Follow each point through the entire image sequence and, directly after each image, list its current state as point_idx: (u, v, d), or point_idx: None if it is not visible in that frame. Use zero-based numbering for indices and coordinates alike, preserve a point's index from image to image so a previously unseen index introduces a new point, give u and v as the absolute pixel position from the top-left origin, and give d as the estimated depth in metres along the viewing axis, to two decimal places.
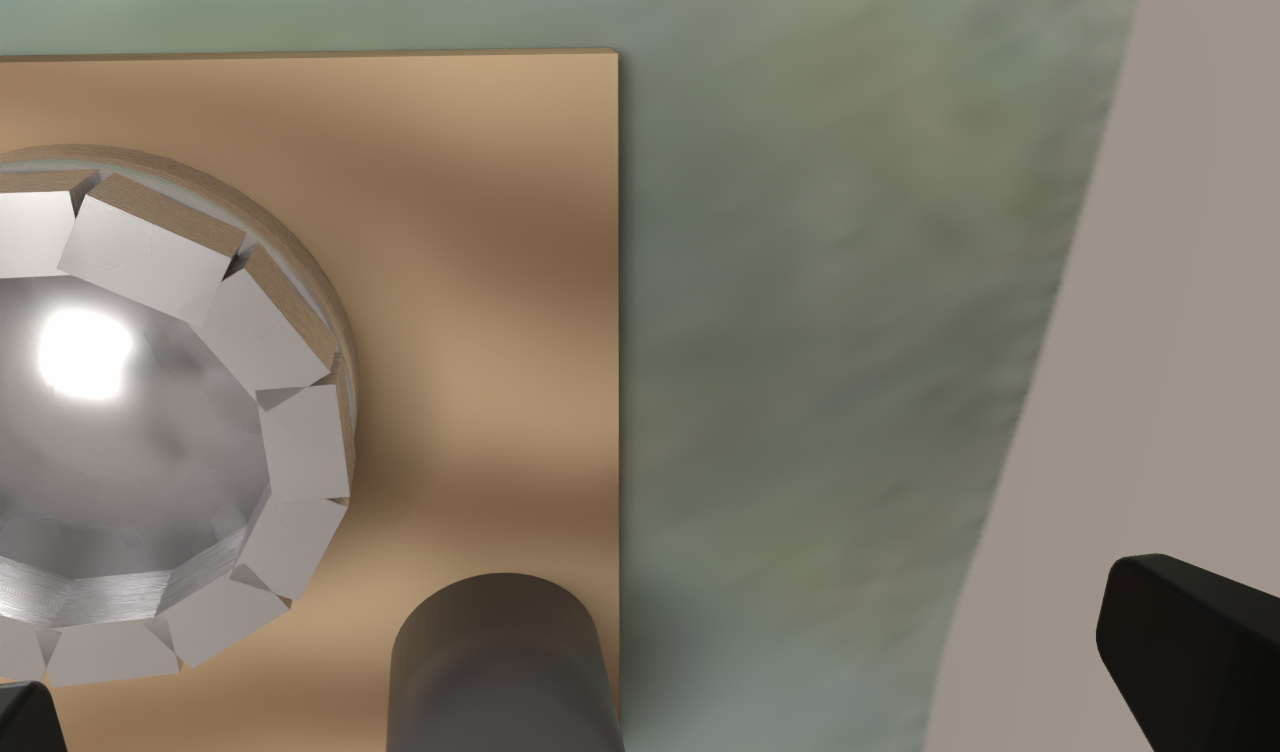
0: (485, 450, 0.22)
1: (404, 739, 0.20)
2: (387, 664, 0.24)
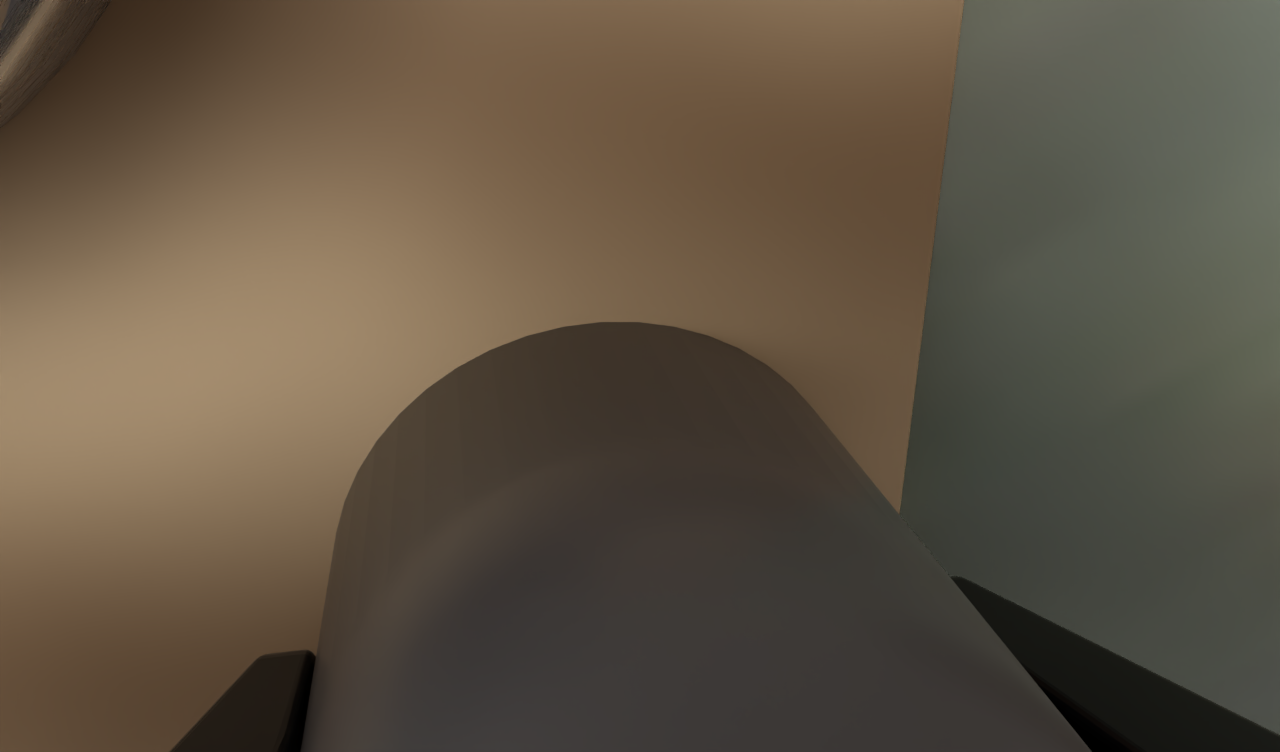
0: None
1: None
2: (323, 573, 0.09)
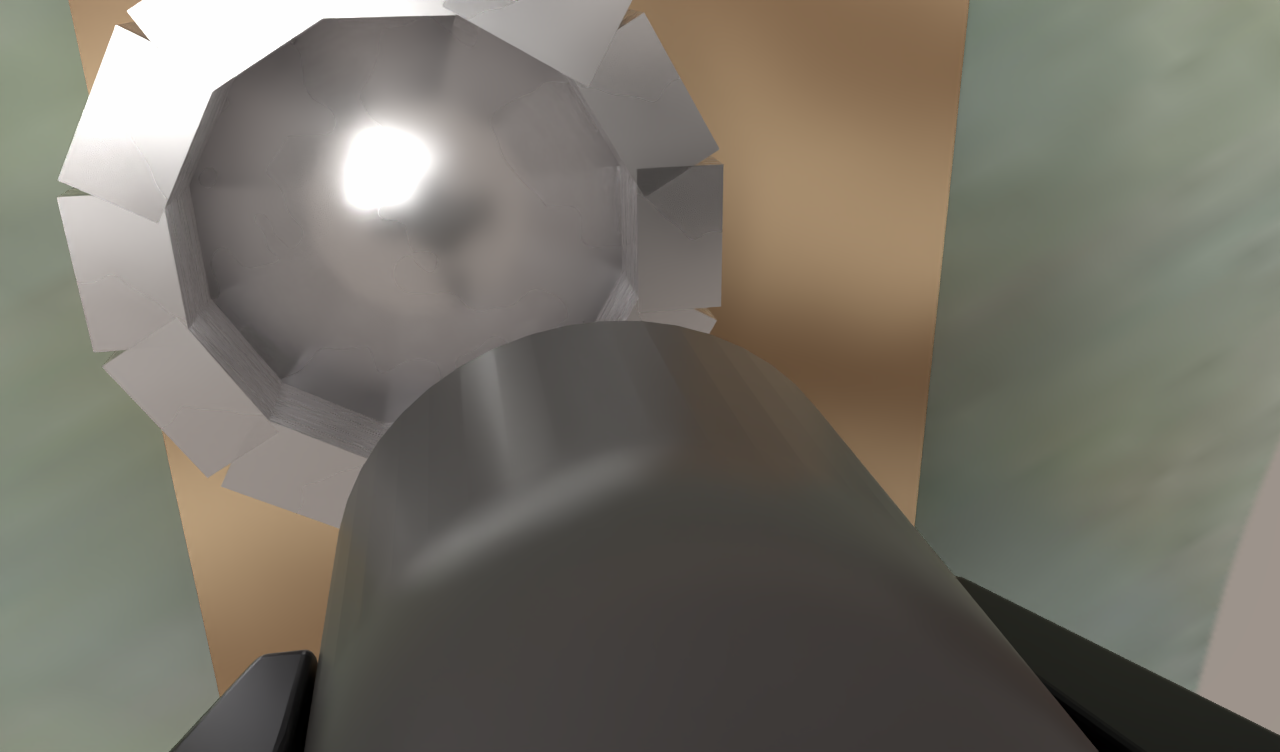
0: (797, 299, 0.20)
1: None
2: None
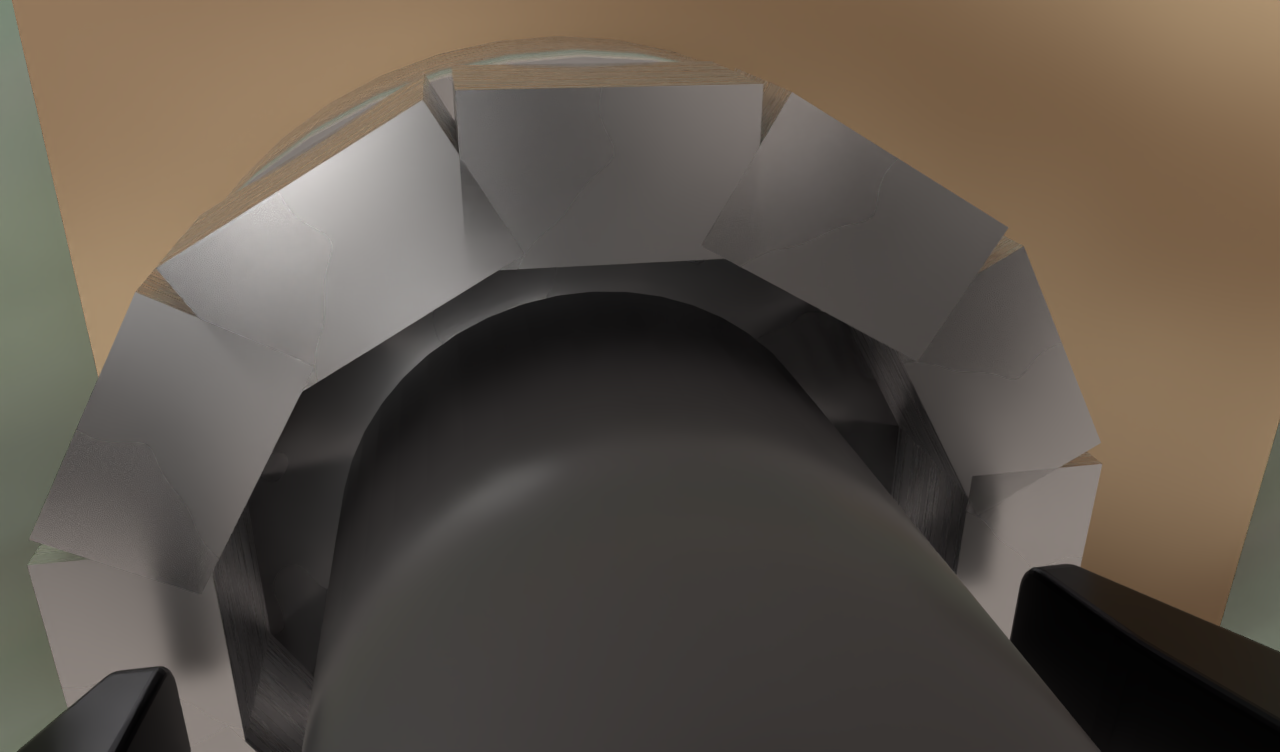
0: None
1: (352, 687, 0.06)
2: None
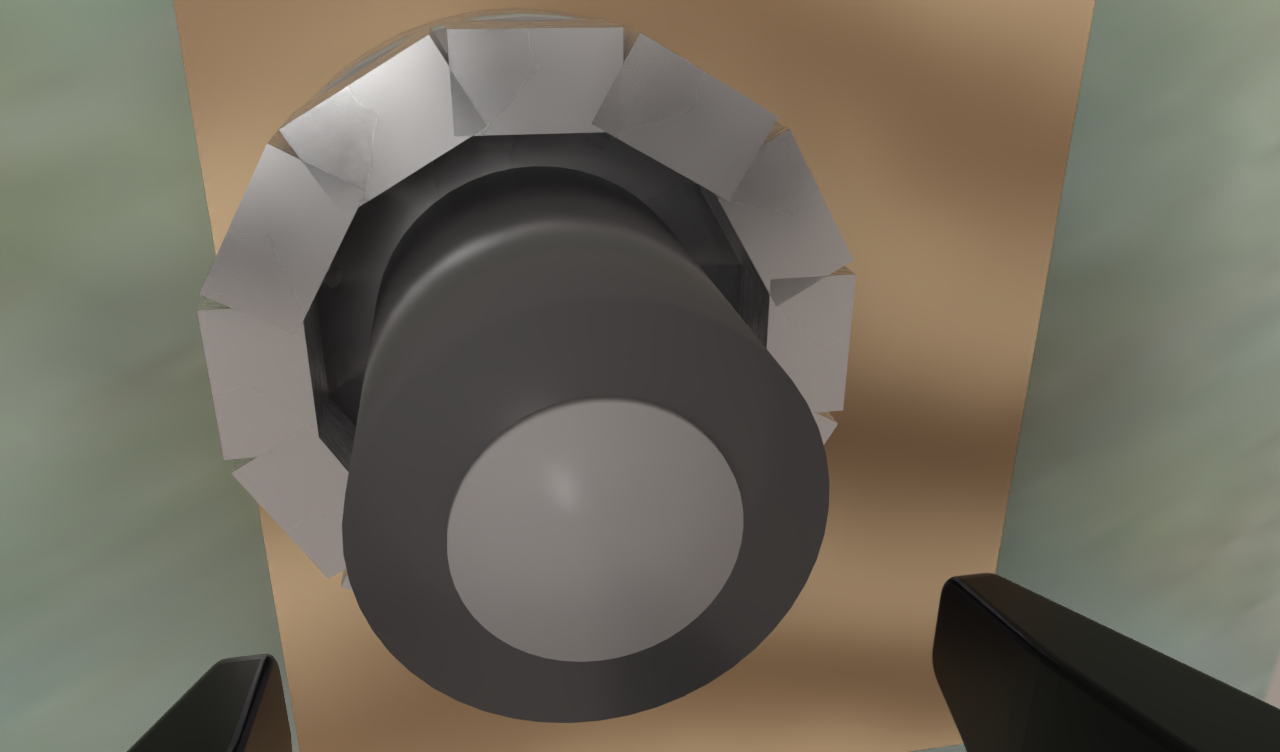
0: (892, 380, 0.20)
1: (393, 329, 0.11)
2: None
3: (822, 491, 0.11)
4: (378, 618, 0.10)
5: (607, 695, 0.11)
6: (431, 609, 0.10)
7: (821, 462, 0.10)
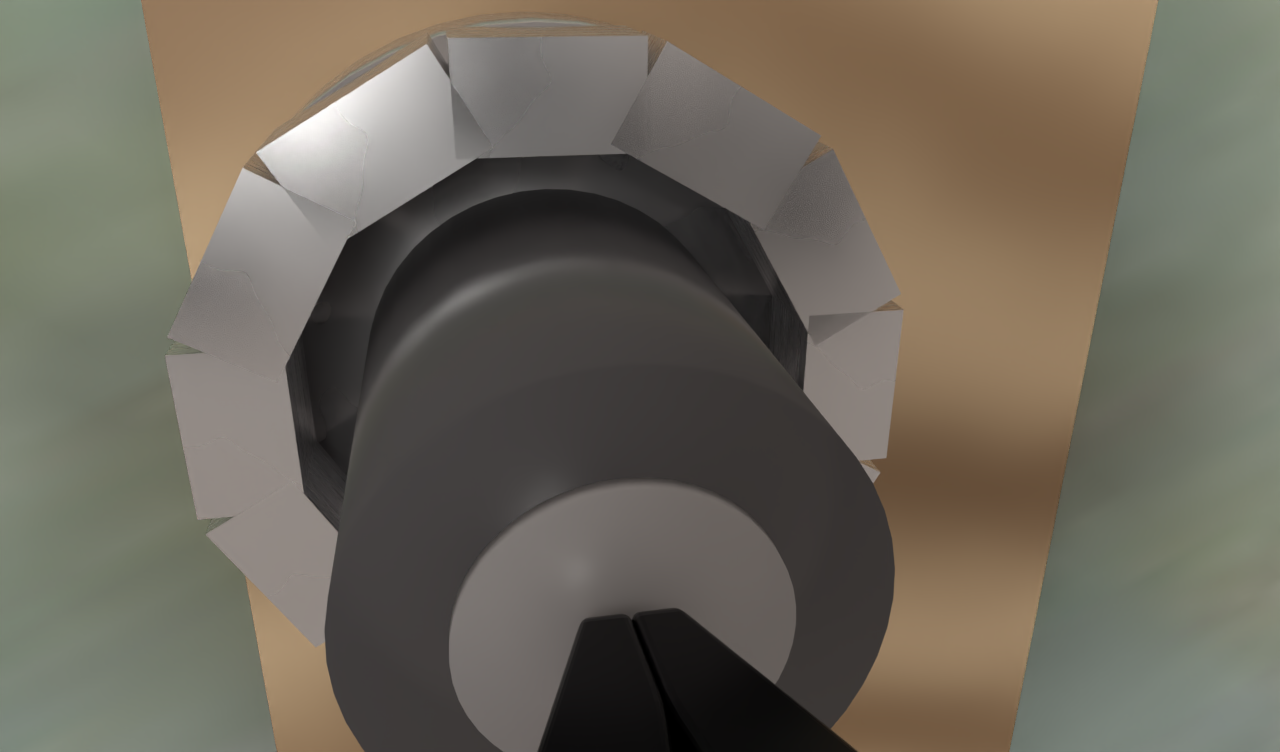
0: (929, 414, 0.18)
1: (386, 386, 0.10)
2: None
3: (886, 580, 0.09)
4: (369, 733, 0.09)
5: None
6: (430, 721, 0.09)
7: (886, 548, 0.09)
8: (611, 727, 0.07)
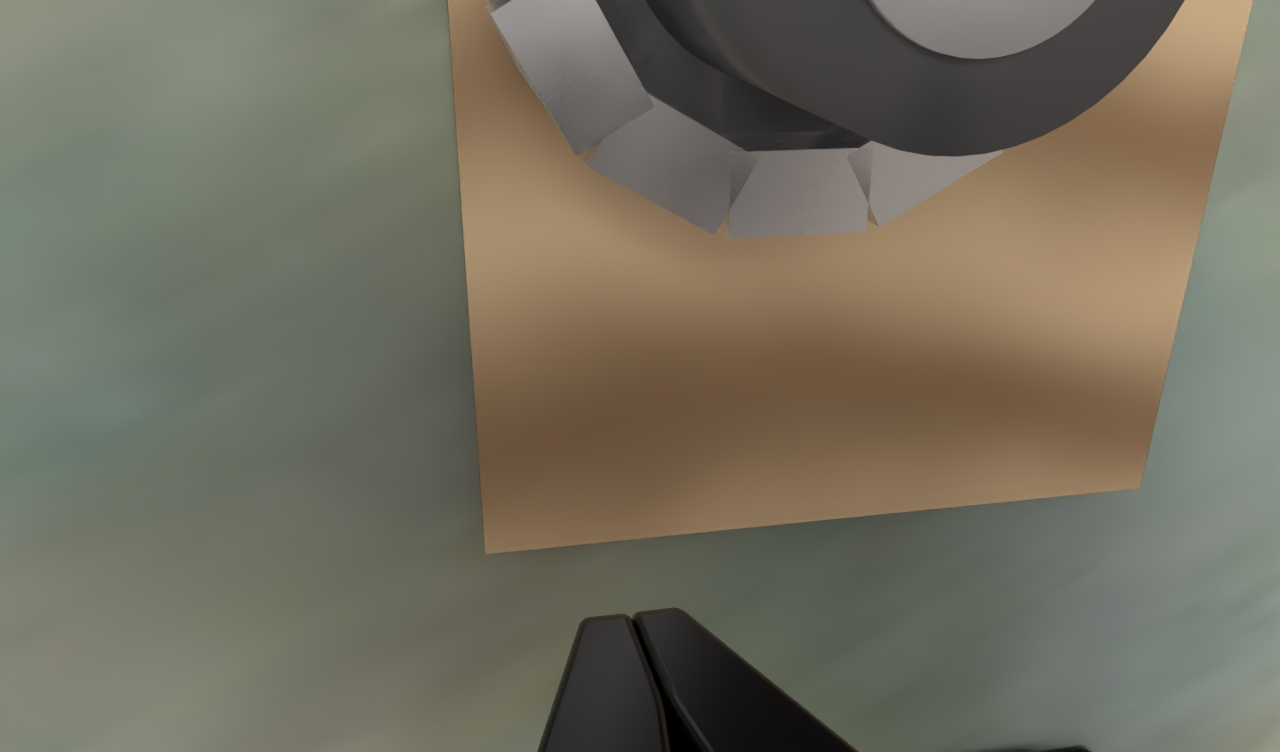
0: None
1: None
2: (938, 333, 0.21)
3: None
4: None
5: (969, 122, 0.10)
6: None
7: None
8: (611, 726, 0.07)
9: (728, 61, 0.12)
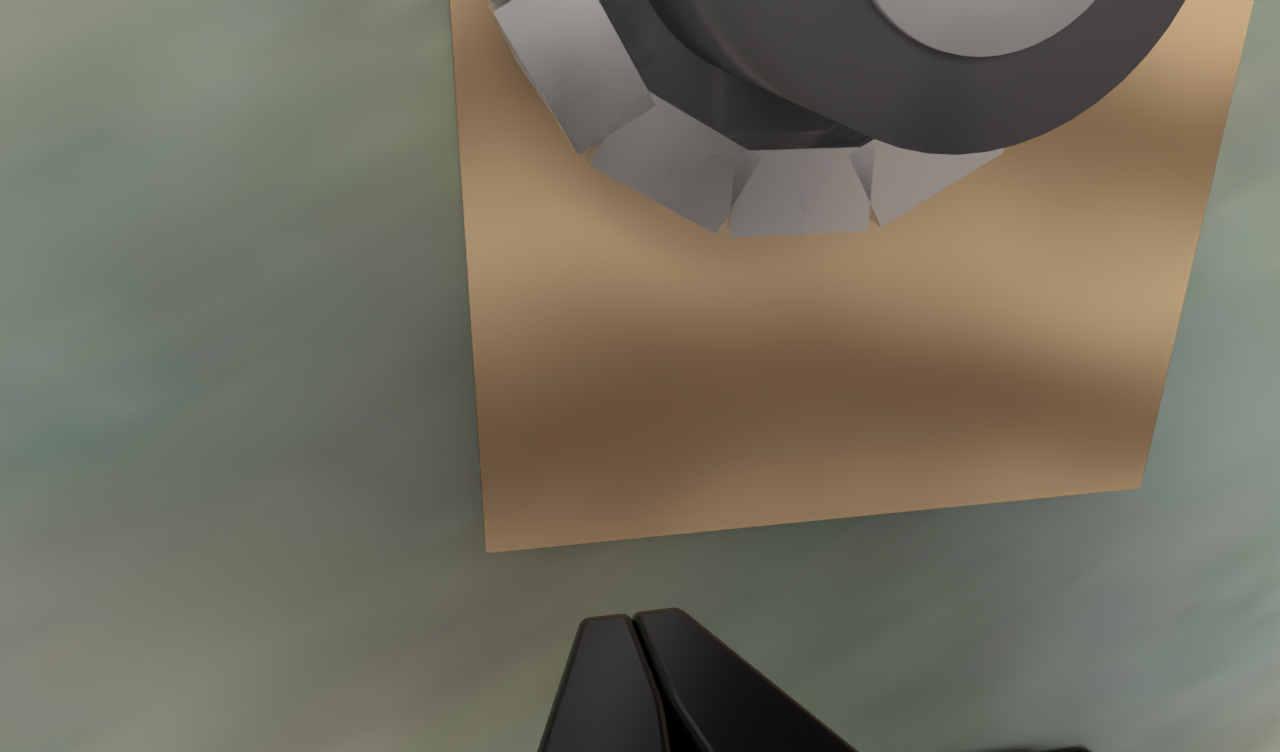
0: None
1: None
2: (938, 332, 0.21)
3: None
4: None
5: (971, 120, 0.10)
6: None
7: None
8: (611, 726, 0.07)
9: (730, 60, 0.13)
